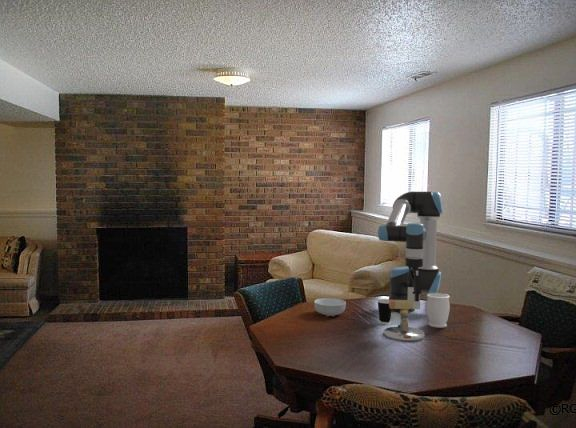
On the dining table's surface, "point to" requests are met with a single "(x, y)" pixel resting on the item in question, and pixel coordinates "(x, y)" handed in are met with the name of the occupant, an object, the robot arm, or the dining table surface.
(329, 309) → the cereal bowl
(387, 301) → the dixie cup
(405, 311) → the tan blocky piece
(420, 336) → the post base
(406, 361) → the dining table surface
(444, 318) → the jar
